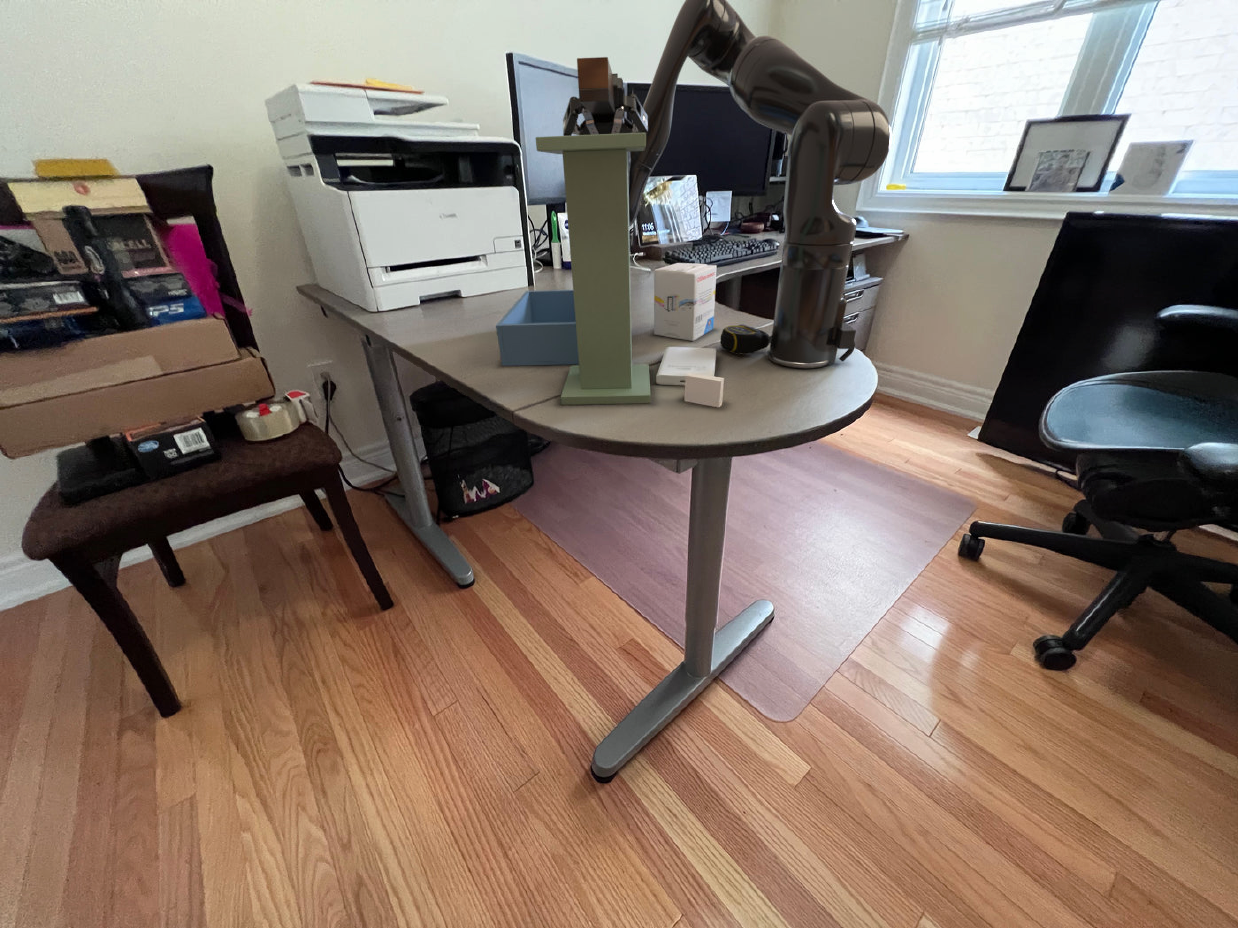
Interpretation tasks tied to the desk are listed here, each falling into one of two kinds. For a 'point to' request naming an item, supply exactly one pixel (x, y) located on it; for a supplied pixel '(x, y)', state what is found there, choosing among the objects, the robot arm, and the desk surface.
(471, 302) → the desk surface
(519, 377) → the desk surface
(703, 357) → the hard drive
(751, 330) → the tape measure
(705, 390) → the eraser
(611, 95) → the block
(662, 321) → the ink box
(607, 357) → the stand
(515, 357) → the tray
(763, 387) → the desk surface
